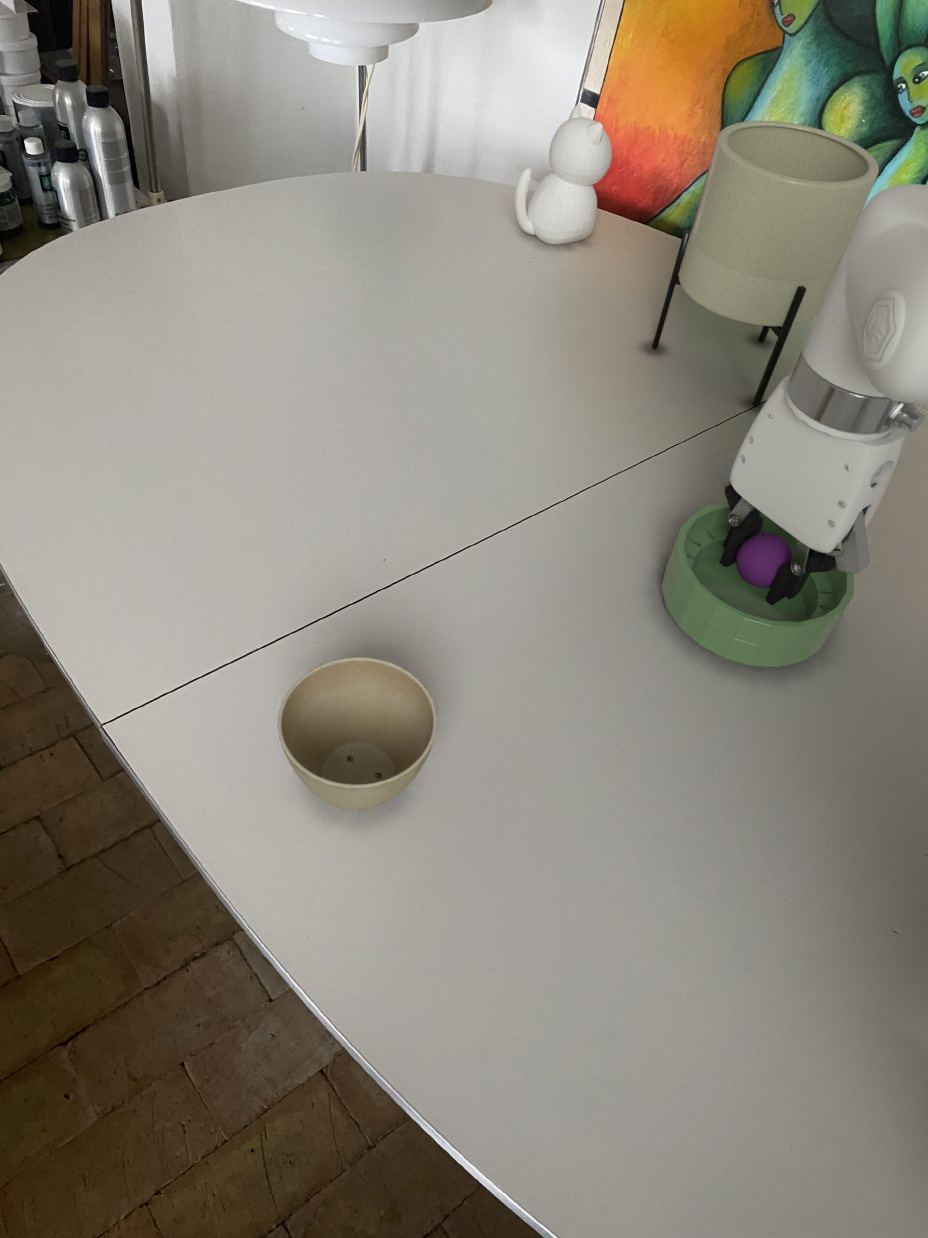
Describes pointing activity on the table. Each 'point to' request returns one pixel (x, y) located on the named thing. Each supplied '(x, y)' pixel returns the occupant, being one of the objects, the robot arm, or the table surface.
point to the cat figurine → (566, 183)
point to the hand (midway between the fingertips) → (756, 576)
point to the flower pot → (357, 730)
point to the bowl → (746, 598)
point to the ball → (762, 558)
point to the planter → (772, 226)
